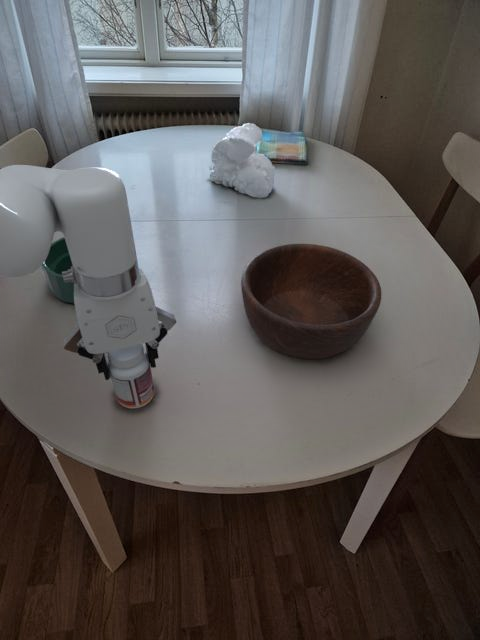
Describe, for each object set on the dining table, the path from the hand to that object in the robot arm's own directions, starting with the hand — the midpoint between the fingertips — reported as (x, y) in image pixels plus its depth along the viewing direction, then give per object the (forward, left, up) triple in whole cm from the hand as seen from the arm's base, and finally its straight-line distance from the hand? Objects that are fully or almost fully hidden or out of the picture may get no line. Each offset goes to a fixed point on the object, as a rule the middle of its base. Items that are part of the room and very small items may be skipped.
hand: (129, 366), depth 65 cm
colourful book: (+67, +85, -7) cm, 108 cm away
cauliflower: (+44, +65, -7) cm, 79 cm away
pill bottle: (0, 0, -7) cm, 7 cm away
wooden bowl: (+34, +6, -7) cm, 35 cm away
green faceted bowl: (-3, +33, -7) cm, 34 cm away
